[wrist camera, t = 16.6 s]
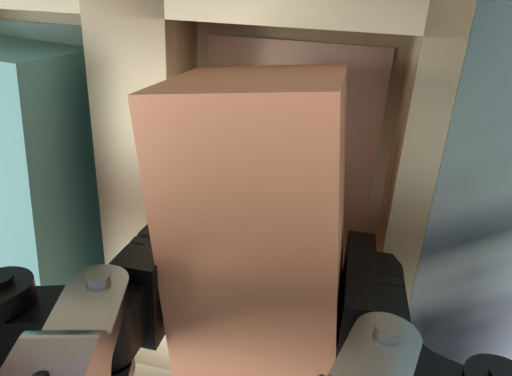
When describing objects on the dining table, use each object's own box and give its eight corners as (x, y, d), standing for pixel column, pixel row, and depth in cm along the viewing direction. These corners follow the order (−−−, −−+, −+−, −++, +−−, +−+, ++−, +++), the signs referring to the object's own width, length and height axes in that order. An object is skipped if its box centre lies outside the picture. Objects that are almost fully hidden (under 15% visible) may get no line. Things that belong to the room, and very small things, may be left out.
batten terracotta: (197, 67, 12) (126, 94, 8) (347, 63, 11) (340, 91, 8) (226, 357, 16) (185, 461, 12) (340, 370, 15) (333, 487, 11)
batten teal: (-7, 33, 15) (-120, 43, 12) (100, 49, 15) (15, 63, 11) (24, 275, 19) (-53, 337, 16) (109, 295, 19) (49, 364, 15)
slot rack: (365, 414, 20) (366, 493, 16) (21, 340, 23) (-34, 395, 20) (475, -130, 12) (517, -179, 9) (-75, -131, 15) (-193, -167, 12)
